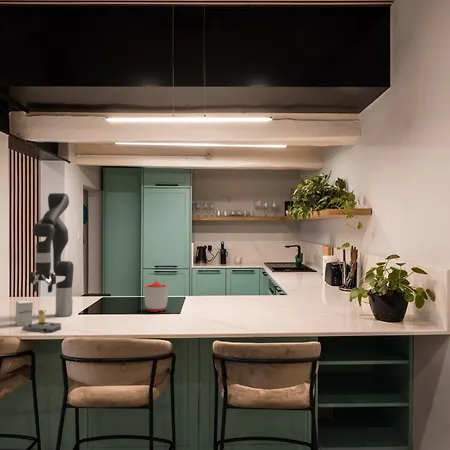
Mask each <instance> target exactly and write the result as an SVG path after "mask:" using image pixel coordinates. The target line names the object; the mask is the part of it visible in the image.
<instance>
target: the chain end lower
mask: <svg viewBox="0 0 450 450" xmlns="http://www.w3.org/2000/svg"><path fill="white" fill-rule="evenodd" d="M21 330H23V331H30V330H32V331H31V332H41V331H44V332H47V331H46V330H47V329H42V328H31V324H29V325H23V326H22V329H21Z"/></svg>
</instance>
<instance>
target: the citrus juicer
mask: <svg viewBox="0 0 450 450" xmlns="http://www.w3.org/2000/svg"><path fill="white" fill-rule="evenodd" d="M168 295H169V284H167V283H163V284H161V283H160V282H159V281H158V280H155V281H154V282H153V283H148V284H144V304H145V308H146V311H147V312H149V311H150V313H159V312H158V311H161V312H164V311H163V310H166V308H167V305H168V299H169V298H168V297H169V296H168Z"/></svg>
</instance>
